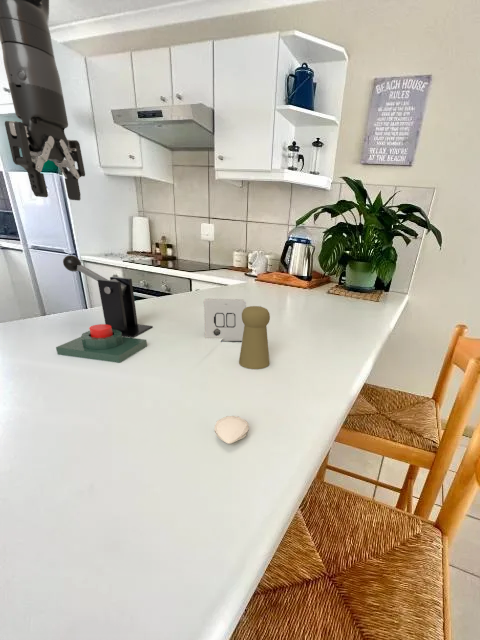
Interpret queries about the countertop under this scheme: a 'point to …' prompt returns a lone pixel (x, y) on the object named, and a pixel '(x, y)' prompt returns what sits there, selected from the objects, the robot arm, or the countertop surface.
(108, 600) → the countertop surface
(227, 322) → the electrical switch
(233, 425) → the seashell
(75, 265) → the switch lever
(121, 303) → the switch bracket
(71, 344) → the button block
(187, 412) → the countertop surface
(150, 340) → the countertop surface
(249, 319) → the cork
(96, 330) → the push button
